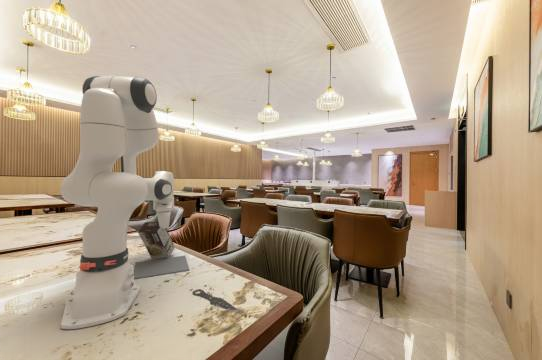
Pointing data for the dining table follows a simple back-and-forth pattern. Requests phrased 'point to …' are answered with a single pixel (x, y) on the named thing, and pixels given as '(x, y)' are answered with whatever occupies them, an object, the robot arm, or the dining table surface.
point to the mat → (160, 267)
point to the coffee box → (156, 240)
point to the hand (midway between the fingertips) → (163, 234)
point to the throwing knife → (215, 300)
